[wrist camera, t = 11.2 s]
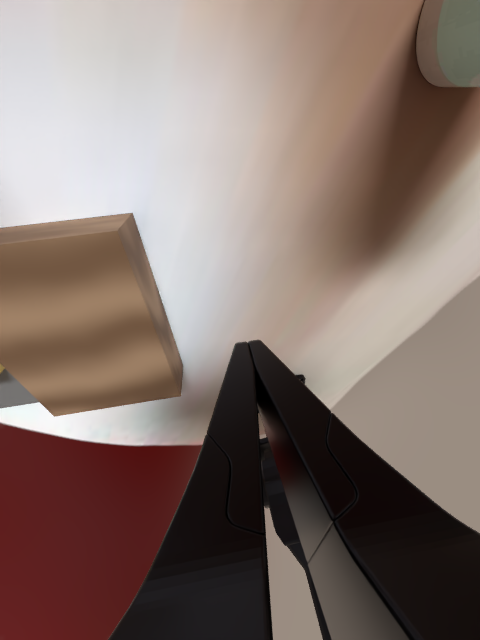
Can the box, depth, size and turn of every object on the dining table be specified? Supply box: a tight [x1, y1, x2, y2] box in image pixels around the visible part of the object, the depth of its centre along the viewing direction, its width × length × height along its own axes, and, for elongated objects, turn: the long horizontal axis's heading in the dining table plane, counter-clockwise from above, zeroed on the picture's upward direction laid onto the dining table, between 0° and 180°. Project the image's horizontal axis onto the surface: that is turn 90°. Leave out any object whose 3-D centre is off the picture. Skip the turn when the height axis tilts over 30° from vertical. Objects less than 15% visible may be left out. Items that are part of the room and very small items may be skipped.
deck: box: [0, 213, 183, 416], centre depth 20 cm, size 16×12×4 cm
